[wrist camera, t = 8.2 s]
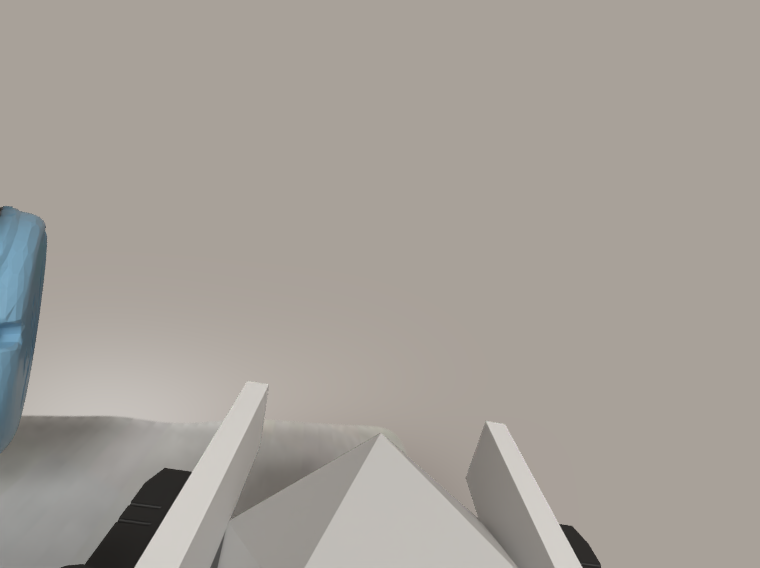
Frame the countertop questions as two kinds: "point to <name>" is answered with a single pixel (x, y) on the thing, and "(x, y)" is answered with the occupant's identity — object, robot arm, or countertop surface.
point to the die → (362, 520)
